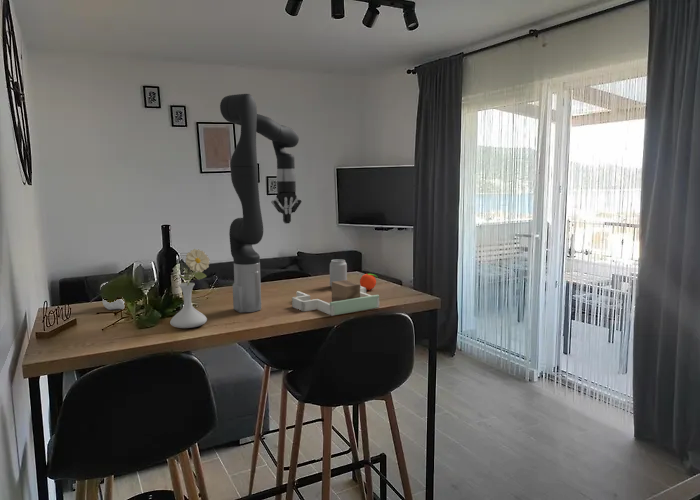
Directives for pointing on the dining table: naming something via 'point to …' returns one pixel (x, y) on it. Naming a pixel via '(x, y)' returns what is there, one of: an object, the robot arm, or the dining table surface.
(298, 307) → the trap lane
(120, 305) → the duck figurine
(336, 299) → the brown rectangular block
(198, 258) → the flower in vase
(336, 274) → the can
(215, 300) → the dining table surface
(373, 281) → the clementine
